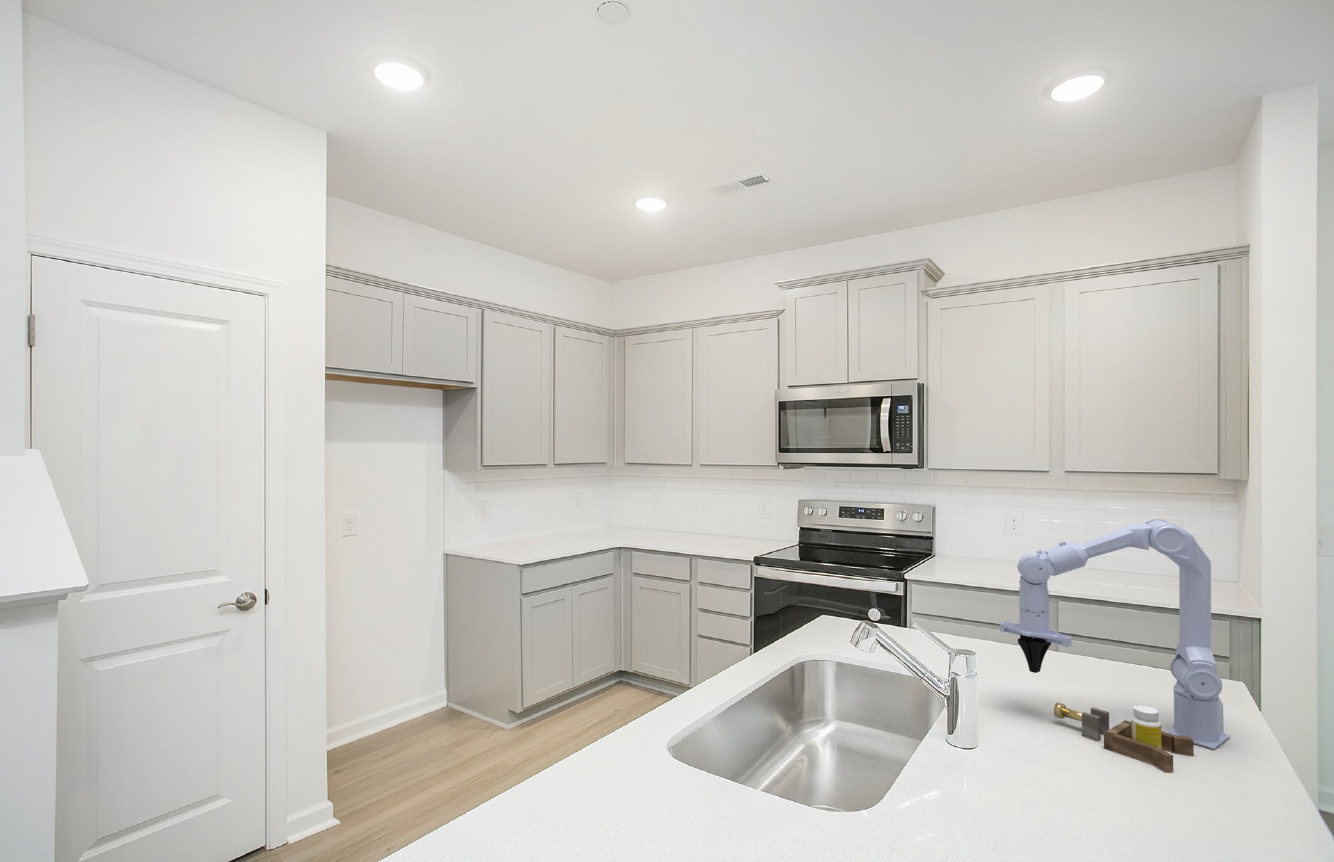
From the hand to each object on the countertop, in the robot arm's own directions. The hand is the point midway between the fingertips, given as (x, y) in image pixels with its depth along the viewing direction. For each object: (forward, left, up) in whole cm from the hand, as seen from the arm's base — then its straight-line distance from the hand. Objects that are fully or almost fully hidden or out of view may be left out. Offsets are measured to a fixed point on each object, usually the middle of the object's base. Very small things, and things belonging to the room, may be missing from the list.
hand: (1034, 671), depth 147 cm
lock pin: (0, +8, -8) cm, 12 cm away
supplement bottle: (0, +21, -10) cm, 23 cm away
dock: (0, +19, -10) cm, 21 cm away
